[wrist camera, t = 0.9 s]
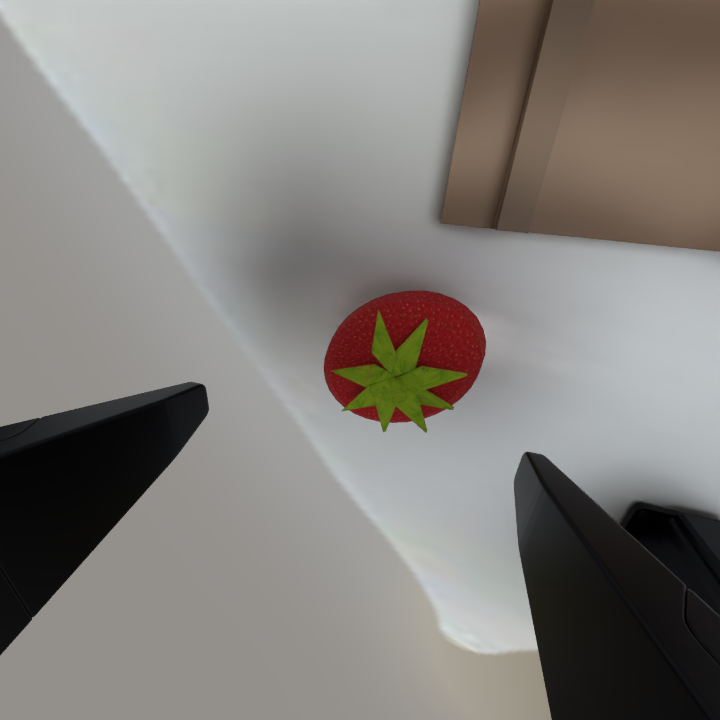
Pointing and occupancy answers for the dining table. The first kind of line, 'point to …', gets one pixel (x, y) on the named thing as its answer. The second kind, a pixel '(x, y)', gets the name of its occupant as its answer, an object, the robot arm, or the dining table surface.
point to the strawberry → (405, 357)
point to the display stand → (592, 122)
